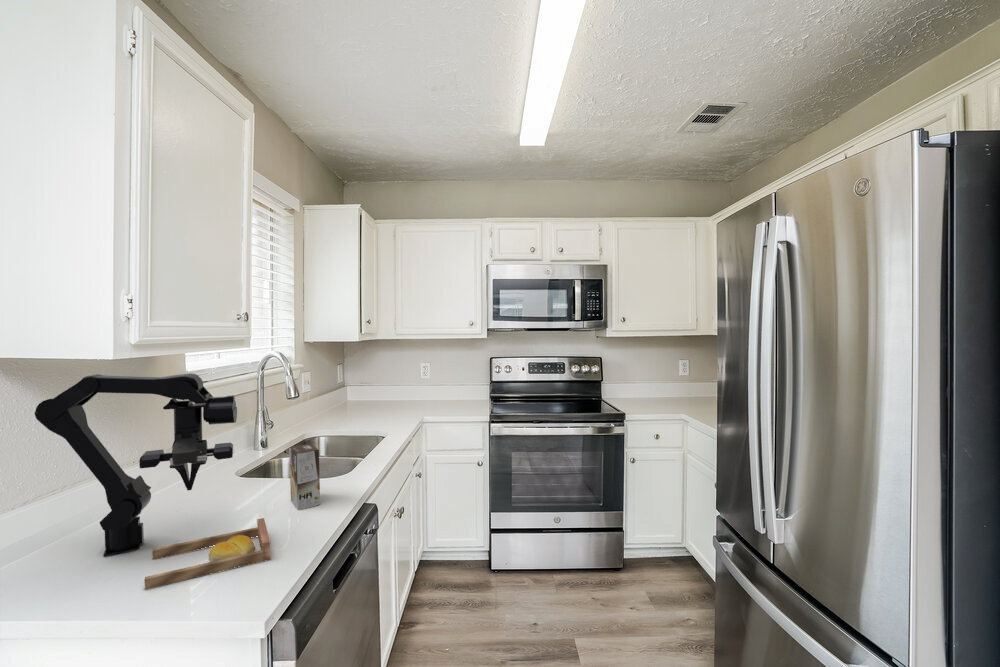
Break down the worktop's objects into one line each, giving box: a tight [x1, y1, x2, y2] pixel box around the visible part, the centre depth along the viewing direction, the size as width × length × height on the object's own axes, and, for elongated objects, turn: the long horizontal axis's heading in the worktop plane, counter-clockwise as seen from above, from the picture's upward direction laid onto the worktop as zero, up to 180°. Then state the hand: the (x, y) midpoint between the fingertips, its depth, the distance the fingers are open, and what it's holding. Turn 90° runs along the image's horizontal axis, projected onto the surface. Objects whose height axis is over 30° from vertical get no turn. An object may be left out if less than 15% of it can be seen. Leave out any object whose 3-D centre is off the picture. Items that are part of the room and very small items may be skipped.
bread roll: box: [208, 535, 256, 562], centre depth 108 cm, size 8×9×4 cm
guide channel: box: [144, 517, 271, 590], centre depth 107 cm, size 22×15×4 cm
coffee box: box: [288, 443, 321, 511], centre depth 140 cm, size 9×6×16 cm
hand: (189, 489), depth 117 cm, fingers closed
